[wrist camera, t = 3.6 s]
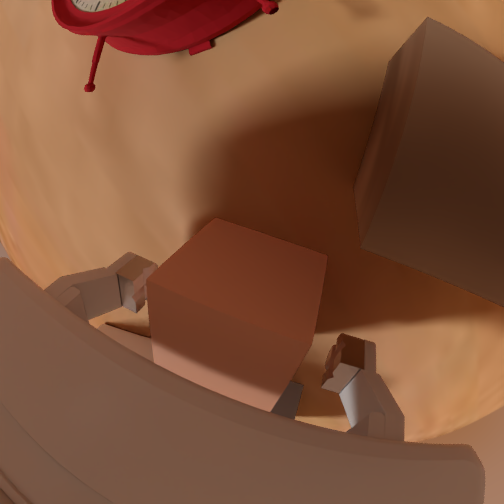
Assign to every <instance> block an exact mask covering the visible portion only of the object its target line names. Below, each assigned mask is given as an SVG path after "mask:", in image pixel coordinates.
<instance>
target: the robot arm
mask: <svg viewBox="0 0 504 504" xmlns="http://www.w3.org/2000/svg"><path fill="white" fill-rule="evenodd" d="M156 269H158V265H157V264H156V263H154V262H152V261H149V260H147V259H145V258H143V257H141V256H138V255H136V254H134V253H132V252H127V253H126V254H125V255H123V256H122V257H121V258H119V259H118V260H117V261H115V262H114V263H113V264H112V265H110V266H109V267H108V268H104V267H103V268H99V269H94V270H90V271H85V272H80V273H76V274H71V275H67V276H62V277H60V278H59V279H57V280H56V281H55V282H54V283H52V284H51V285H50V286H48V287H47V288H46V289H45V290H43V289H42V288H41V287H39V286H38V285H37V284H36V283H35V282H33V281H32V280H31V279H30V278H29V277H28V276H27V275H25V274H24V273H23V272H22V271H21V270H20V269H19V268H18V267H16V266H15V265H14V264H13V263H12V262H11V261H10V260H9V259H8V258H5V257H2V258H0V504H483V503H484V492H485V470H484V467H483V465H482V463H481V461H480V459H479V457H478V456H477V454H476V452H475V451H474V449H473V448H472V447H471V446H470V445H467V444H430V443H416V442H405V441H404V415H403V413H402V411H401V410H400V408H399V406H398V405H397V403H396V401H395V399H394V398H393V396H392V394H391V393H390V391H389V389H388V388H387V386H386V385H385V383H384V381H383V380H382V378H381V376H380V375H379V374H377V373H376V344H375V343H374V342H371V341H367V340H363V339H360V338H357V337H353V336H350V335H347V334H344V333H341V334H340V335H339V337H338V338H337V342H336V345H333V346H332V348H331V349H330V351H329V353H328V356H327V358H326V362H325V368H326V372H325V373H324V375H323V379H322V385H321V388H323V389H326V390H330V391H333V392H336V393H340V394H339V395H340V398H341V401H342V403H343V406H344V409H345V411H346V414H347V417H348V420H349V422H350V425H351V429H349V430H348V431H347V432H342V431H337V430H332V429H328V428H324V427H320V426H316V425H312V424H308V423H304V422H301V421H297V420H294V419H290V418H287V417H284V416H280V415H277V414H274V413H271V412H268V411H265V410H262V409H259V408H256V407H253V406H251V405H248V404H245V403H242V402H240V401H237V400H234V399H232V398H229V397H227V396H224V395H222V394H219V393H217V392H215V391H212V390H210V389H208V388H205V387H203V386H201V385H198V384H196V383H194V382H192V381H190V380H188V379H185V378H183V377H181V376H179V375H177V374H175V373H173V372H171V371H169V370H167V369H165V368H163V367H161V366H159V365H157V364H156V363H154V362H152V361H150V360H148V359H146V358H144V357H143V356H141V355H139V354H137V353H136V352H134V351H132V350H130V349H129V348H127V347H125V346H123V345H122V344H120V343H119V342H117V341H115V340H114V339H112V338H110V337H109V336H107V335H106V334H104V333H103V332H101V331H99V330H98V329H96V328H95V327H93V326H92V325H90V324H89V321H88V320H89V319H92V318H95V317H97V316H100V315H102V314H105V313H107V312H110V311H112V310H115V309H117V308H120V307H122V306H123V307H125V308H127V309H129V310H131V311H133V312H135V313H137V312H138V311H139V310H140V309H141V308H142V307H143V306H144V305H145V300H147V288H146V279H147V278H148V277H149V276H150V275H151V274H152V273H153V272H154V271H155V270H156Z"/></svg>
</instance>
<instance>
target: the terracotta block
mask: <svg viewBox="0 0 504 504" xmlns="http://www.w3.org/2000/svg"><path fill="white" fill-rule="evenodd" d="M327 259H328V255H325V254H322V253H319V252H316V251H314V250H311V249H308V248H305V247H302V246H299V245H296V244H293V243H290V242H287V241H285V240H282V239H279V238H276V237H273V236H270V235H267V234H264V233H261V232H258V231H255V230H252V229H249V228H246V227H243V226H240V225H237V224H234V223H231V222H228V221H225V220H222V219H218V218H214V219H213V220H212V221H210V222H209V223H208V224H207V225H206V226H205V227H203V228H202V229H201V230H200V231H199V232H198V233H197V234H195V235H194V236H193V237H192V238H191V239H190V240H189V241H187V242H186V243H185V244H184V245H183V246H182V247H181V248H180V249H178V250H177V251H176V252H175V253H174V254H173V255H172V256H171V257H170V258H168V259H167V260H166V261H165V262H164V263H163V264H162V265H161V266H160V267H159V268H158V269H156V270H155V271H154V272H153V273H152V274H151V275H150V276H149V277H148V278H147V279H146V288H147V302H148V314H149V324H150V334H151V342H152V350H153V358H154V363H156V364H157V365H159V366H161V367H163V368H165V369H167V370H169V371H171V372H173V373H175V374H177V375H179V376H181V377H183V378H185V379H188V380H190V381H192V382H194V383H196V384H198V385H201V386H203V387H205V388H208V389H210V390H212V391H215V392H217V393H219V394H222V395H224V396H227V397H229V398H232V399H234V400H237V401H240V402H242V403H245V404H248V405H251V406H253V407H256V408H259V409H262V410H265V411H268V412H270V411H271V410H272V408H273V407H274V405H275V404H276V402H277V401H278V399H279V398H280V396H281V395H282V393H283V392H284V390H285V388H286V387H287V385H288V384H289V382H290V381H291V379H292V377H293V376H294V374H295V372H296V371H297V369H298V367H299V366H300V364H301V362H302V361H303V359H304V357H305V356H306V354H307V352H308V351H309V349H310V347H311V345H312V341H313V336H314V332H315V327H316V322H317V317H318V312H319V306H320V301H321V296H322V290H323V284H324V278H325V272H326V266H327Z"/></svg>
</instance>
